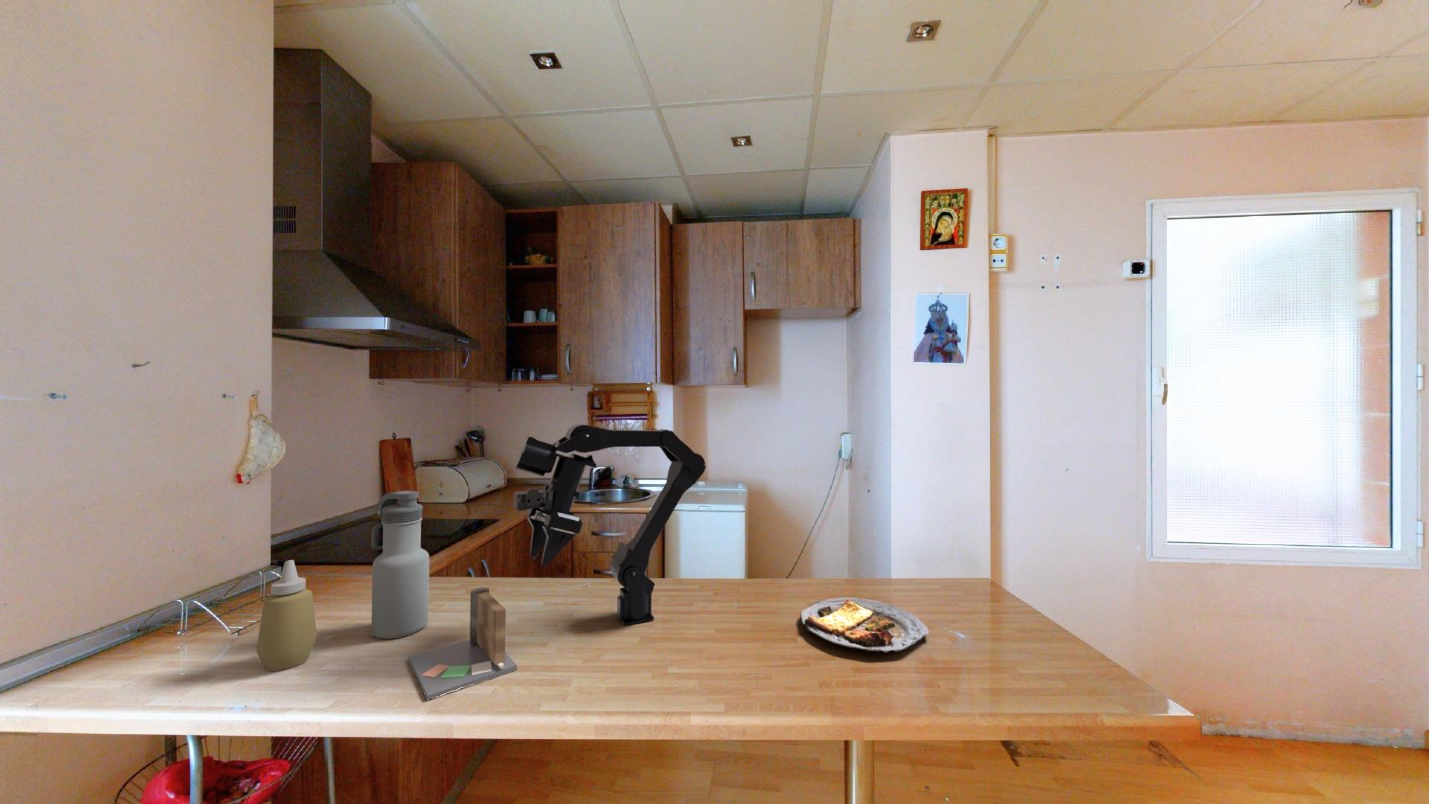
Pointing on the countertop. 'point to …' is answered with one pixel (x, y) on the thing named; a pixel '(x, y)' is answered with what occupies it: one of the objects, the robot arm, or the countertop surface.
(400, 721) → the countertop surface
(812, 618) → the food plate
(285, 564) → the squeeze bottle
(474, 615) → the upright wooden block
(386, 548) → the water bottle
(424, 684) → the grey flat board
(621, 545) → the robot arm
